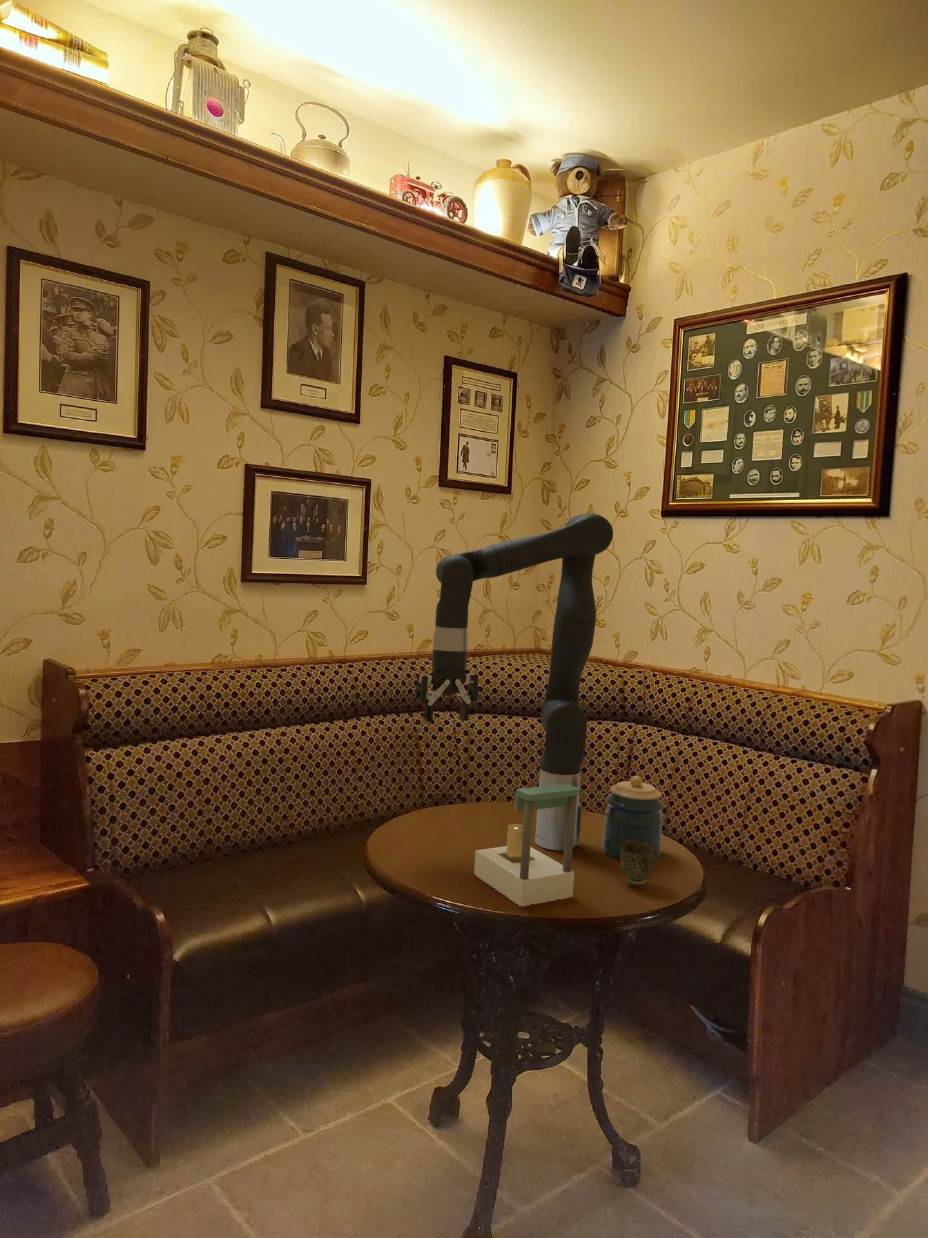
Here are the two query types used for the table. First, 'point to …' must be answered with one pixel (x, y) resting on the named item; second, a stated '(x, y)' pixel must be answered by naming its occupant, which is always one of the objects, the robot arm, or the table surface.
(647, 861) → the cup
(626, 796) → the canister
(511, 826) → the brass peg
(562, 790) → the socket stand
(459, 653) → the robot arm
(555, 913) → the table surface
